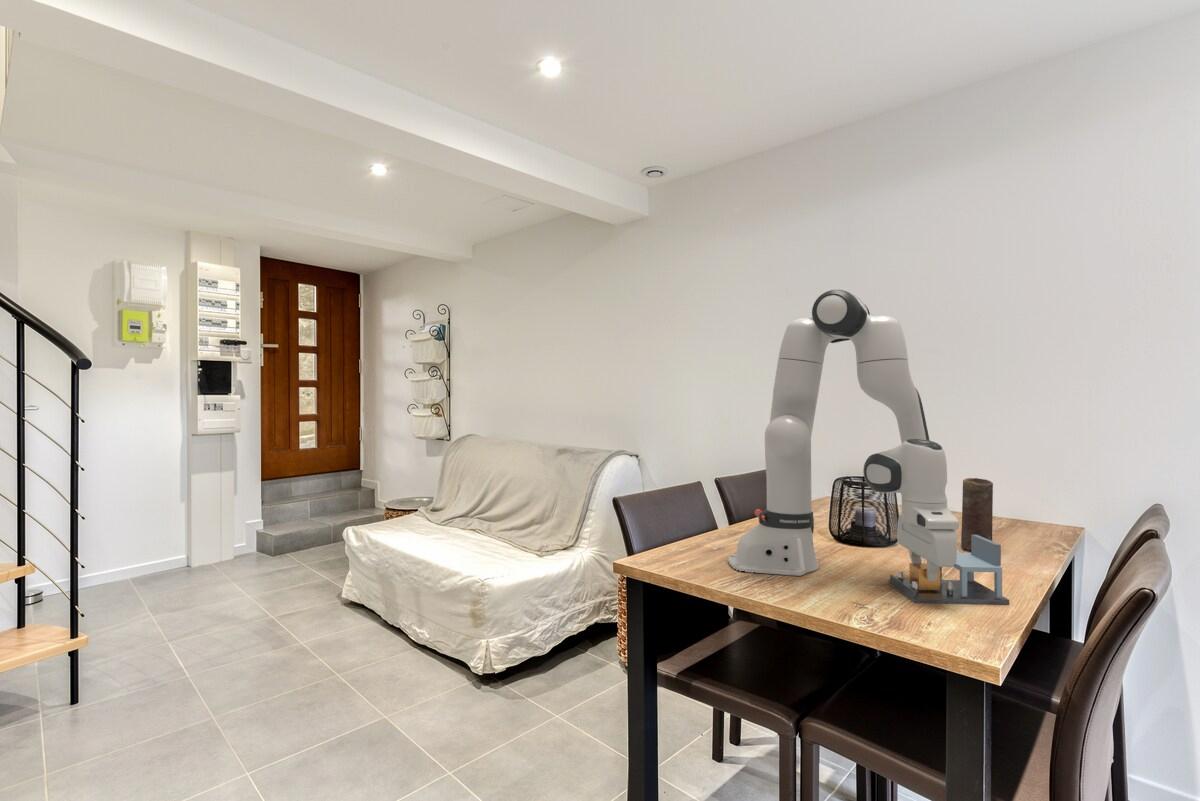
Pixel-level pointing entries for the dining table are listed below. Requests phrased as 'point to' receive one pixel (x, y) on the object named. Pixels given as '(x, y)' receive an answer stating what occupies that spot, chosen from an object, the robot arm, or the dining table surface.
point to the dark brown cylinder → (976, 510)
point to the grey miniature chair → (979, 563)
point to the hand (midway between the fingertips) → (924, 575)
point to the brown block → (923, 577)
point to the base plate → (947, 592)
